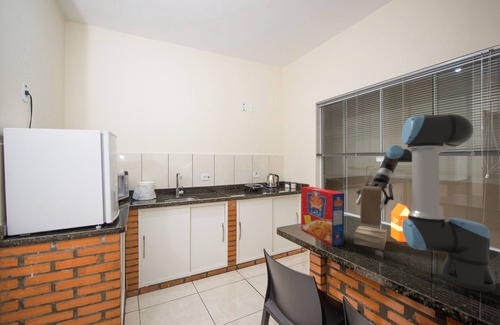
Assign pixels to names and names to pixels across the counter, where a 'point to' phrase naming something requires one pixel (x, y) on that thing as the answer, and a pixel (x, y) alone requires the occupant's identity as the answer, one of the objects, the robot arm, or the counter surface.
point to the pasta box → (323, 215)
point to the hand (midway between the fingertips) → (368, 206)
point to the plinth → (370, 237)
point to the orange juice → (398, 222)
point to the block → (370, 205)
